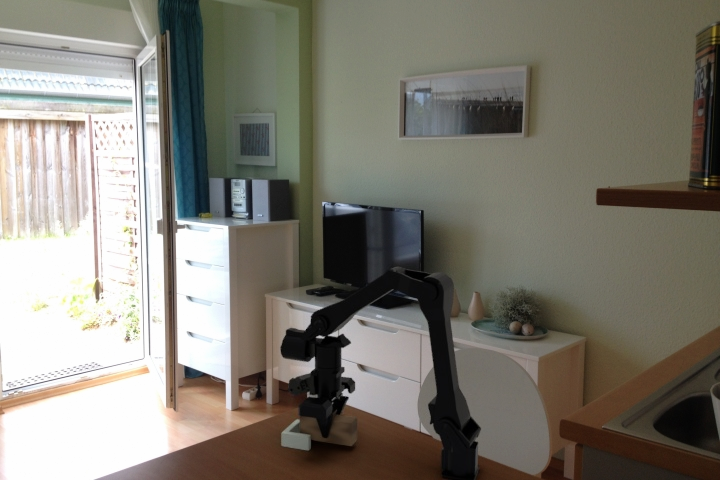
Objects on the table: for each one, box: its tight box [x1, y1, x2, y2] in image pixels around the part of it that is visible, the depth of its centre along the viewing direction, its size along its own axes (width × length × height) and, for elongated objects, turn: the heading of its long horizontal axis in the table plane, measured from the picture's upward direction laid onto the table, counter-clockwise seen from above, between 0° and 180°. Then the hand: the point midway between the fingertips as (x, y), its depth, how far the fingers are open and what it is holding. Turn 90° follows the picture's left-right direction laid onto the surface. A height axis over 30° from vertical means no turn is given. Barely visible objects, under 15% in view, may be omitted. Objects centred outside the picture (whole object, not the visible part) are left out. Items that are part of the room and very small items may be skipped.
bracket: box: [280, 419, 312, 451], centre depth 143 cm, size 6×8×3 cm
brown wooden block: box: [299, 414, 358, 447], centre depth 140 cm, size 12×4×5 cm, turn 71°
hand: (328, 434), depth 141 cm, fingers closed on brown wooden block, 3 cm apart
